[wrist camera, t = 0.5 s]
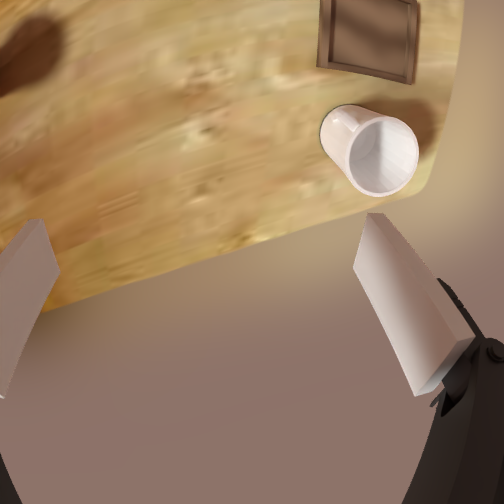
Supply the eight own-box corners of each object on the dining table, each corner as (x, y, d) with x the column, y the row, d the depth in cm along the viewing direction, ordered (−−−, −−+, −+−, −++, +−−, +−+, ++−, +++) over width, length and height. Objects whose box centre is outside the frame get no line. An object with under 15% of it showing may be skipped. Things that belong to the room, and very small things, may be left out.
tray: (320, -23, 24) (325, -27, 23) (409, 1, 26) (417, 0, 24) (316, 66, 32) (320, 67, 30) (404, 83, 33) (411, 85, 31)
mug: (389, 133, 37) (431, 157, 29) (346, 177, 40) (379, 211, 32) (336, 76, 32) (373, 83, 24) (289, 125, 36) (312, 147, 27)
